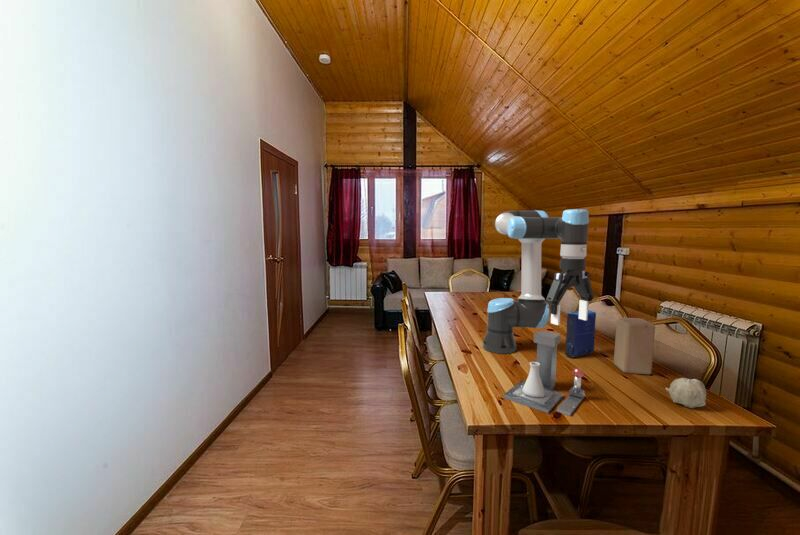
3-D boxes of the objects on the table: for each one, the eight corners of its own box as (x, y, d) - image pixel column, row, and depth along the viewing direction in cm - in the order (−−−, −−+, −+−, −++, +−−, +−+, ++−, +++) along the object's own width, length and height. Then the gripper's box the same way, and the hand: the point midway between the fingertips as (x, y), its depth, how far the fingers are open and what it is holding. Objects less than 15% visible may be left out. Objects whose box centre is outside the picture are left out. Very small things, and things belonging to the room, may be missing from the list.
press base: (503, 397, 110) (505, 341, 108) (528, 378, 125) (530, 328, 123) (566, 420, 97) (570, 356, 95) (585, 395, 112) (589, 339, 110)
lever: (569, 393, 110) (570, 368, 109) (572, 390, 113) (573, 364, 112) (581, 397, 108) (582, 371, 107) (584, 393, 110) (585, 367, 109)
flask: (546, 399, 106) (547, 369, 105) (521, 395, 108) (523, 366, 107) (544, 389, 112) (546, 361, 111) (521, 386, 115) (523, 358, 114)
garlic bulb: (701, 413, 105) (719, 387, 103) (691, 417, 101) (710, 390, 98) (668, 393, 113) (684, 368, 110) (658, 395, 108) (674, 369, 105)
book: (572, 359, 144) (575, 313, 142) (562, 355, 149) (564, 311, 147) (595, 354, 150) (598, 310, 148) (584, 350, 155) (586, 308, 153)
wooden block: (652, 375, 128) (656, 324, 126) (623, 373, 130) (627, 322, 128) (639, 365, 138) (643, 317, 136) (612, 363, 140) (615, 316, 138)
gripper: (556, 259, 100) (552, 329, 102) (608, 257, 111) (604, 320, 113) (536, 258, 107) (532, 323, 109) (587, 256, 118) (583, 315, 120)
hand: (569, 321), depth 111 cm, fingers open, 13 cm apart
